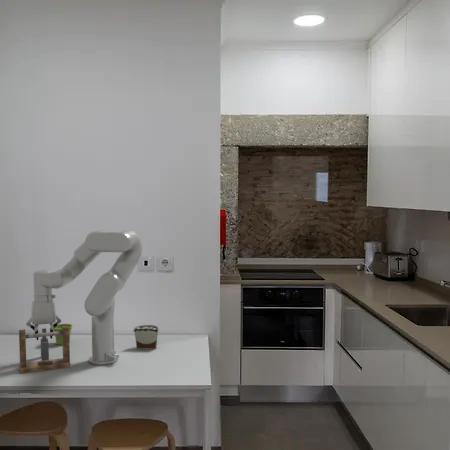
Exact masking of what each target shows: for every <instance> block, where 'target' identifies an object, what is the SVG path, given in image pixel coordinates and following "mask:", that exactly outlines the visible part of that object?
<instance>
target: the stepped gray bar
mask: <svg viewBox="0 0 450 450" xmlns="http://www.w3.org/2000/svg"><path fill="white" fill-rule="evenodd" d="M41 333H47V328H41ZM49 348H50V347H49V339H48V337H47V336H46V337H40V358H41V361H43V360H50V357H49V356H50V353H49V352H50V349H49Z"/></svg>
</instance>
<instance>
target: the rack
mask: <svg viewBox="0 0 450 450" xmlns="http://www.w3.org/2000/svg"><path fill="white" fill-rule="evenodd" d="M56 335H62V337H63V345H62V358H52V359H49V360H43V361H42V360H34V361H27V345H26V343H27V341H26V339H34V338H35V339H37V338H36V337H38V338H42V337H46V338H47V337H50V336H52V337H55V336H56ZM18 340H19V341H18V345H19V370H20V371H19V373H20V374H27V373H33V372H34V373H35V372H42V371H50V370H57V369H67V368H71V356H70V355H71V354H70V353H71V352H70V348H71V347H70V343H69V326H62V331H57V332H54V331H53V332H50V331H49V332H47V331H46V333H42V332H38V333H37V334H35V333H29V334H26V329H19V330H18Z"/></svg>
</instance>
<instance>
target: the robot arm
mask: <svg viewBox="0 0 450 450" xmlns="http://www.w3.org/2000/svg"><path fill="white" fill-rule="evenodd" d="M142 252H143V243H142V240H141V238H140V236H139V235H138V233H136V232H135V231H133V230H131V229H130V230H129V229H127V230H122V231H118V232H114V231H112V232H111V231H110V232H107V231H105V230H102V229H98V230H95V231H91V232H90V233H88V235H87V236H86V237H85V239H84V242H82V244H80V245H79V246H78V247H77V248H76V249H75V250H74V252H73V257H72V258H71V259H70V260H69V261H68V262H67V263H66V264H64V265H63V267H62V268H59V269H57V270H55V271H50V270H47V269H45V270H44V269H43V270H36V271H34V272H33V301H32V303H31V317H30V318H28V320H27V321H26V322H25V326H28V327H29V328H30V329H31V330H33V331H34V334H37V333H39V325H49V327H50V328H49V332H54V328H55V327H56V326H57V325H58V324H61V323H62V319H60V317H59V316H58V315H57V313H56V306H55V305H56V304H55V300H54V299H56V294H53V289H57V290H58V289H61V288H64V286H65V287H66V286H68V285H70V284H71V283H72V282H73V281H74V280H75V279H76V278H78V276H80V275H81V274H82V273H83V271H84V270H85V269H87V267H88V266H89V265H90V264H91V263H92V262H93V261H94V260H95V259H96V258H97V257H99V255H101V254H102V253H120V254H119V256H118V257H117V258H116V260H115V262H114V264H113V265H112V266H111V268H110V269H109V270H108V271H107V272H104V274H102V275H101V276H100V277H99V278H98V279H97V281H96V282H95V284H94V285H93V288H92V289H91V290H90V292H89V294H88V295H87V296H86V298H85V300H84V310H85V312H86V313H87V314H88V316H89V315H90V316H91V350H92V351H91V354H92V355H91V356H89V358H88V362H89V363H90V364H92V365H98V366H99V365H101V366H102V365H105V366H106V365H110V364H113V363H115V362H117V361H118V360H119V358H120V355H118V354H116V353H117V351H116V350H115V321H114V320H115V305H116V302H115V300H116V299H115V296H116V295H117V293H118V292H119V291H121V290H123V288H124V286H125V284H126V283H127V281H128V280H129V278H130V276H131V275H132V273H133V271H134V269H135V268H136V267H137V265H138V263H139V261H140V259H141V256H142V254H143V253H142ZM49 338H50V339H53V336H49ZM35 339H36V341H38V340H39V337H36V338H35Z"/></svg>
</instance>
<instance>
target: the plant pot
mask: <svg viewBox="0 0 450 450" xmlns="http://www.w3.org/2000/svg"><path fill="white" fill-rule="evenodd" d="M62 326H69V344H70V342H71V335H72V333H71V332H72V328H73V324H71V323H59V324H58V325H57V326H56V327H55V328H54V330H53V332H57V331H62ZM54 337H55V342H56V345H58V346H63V337H62V335H56V336H54Z"/></svg>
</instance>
